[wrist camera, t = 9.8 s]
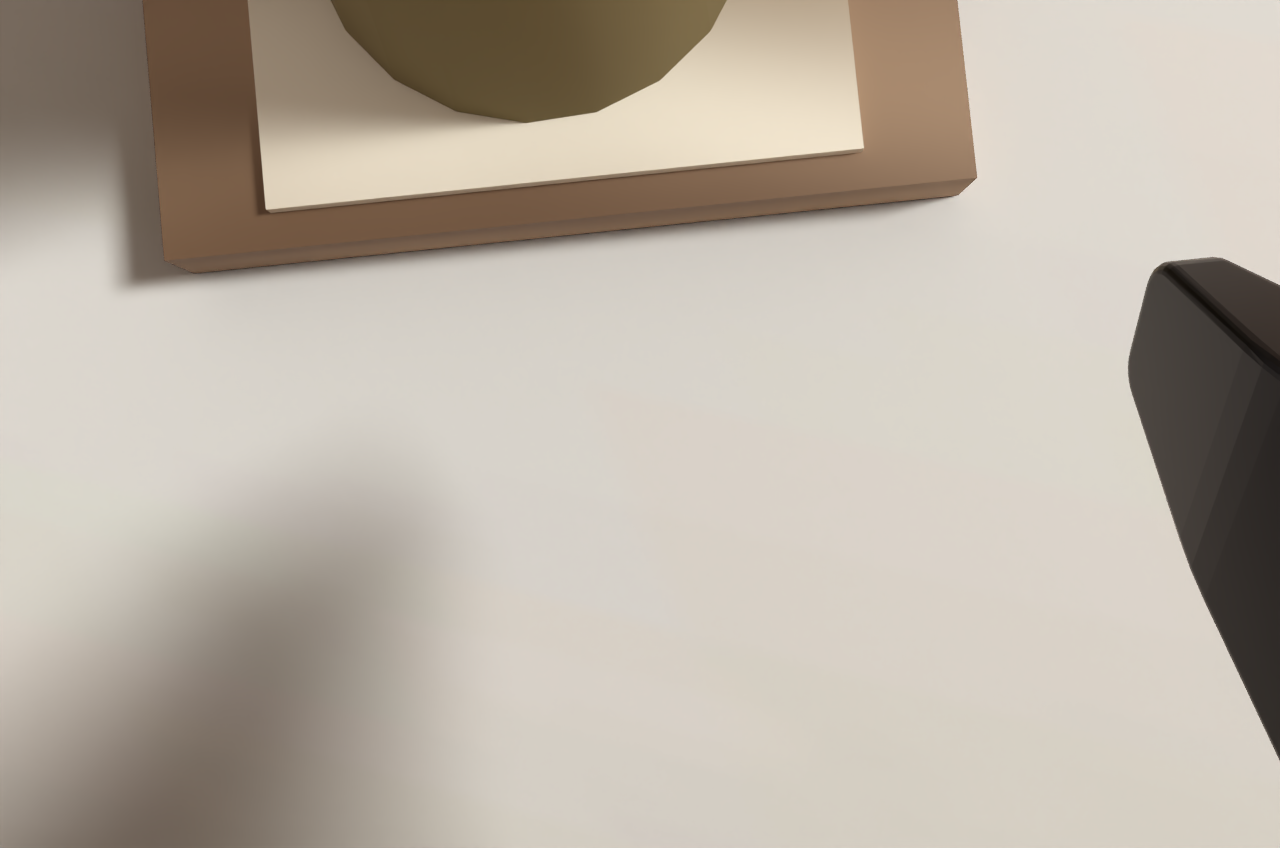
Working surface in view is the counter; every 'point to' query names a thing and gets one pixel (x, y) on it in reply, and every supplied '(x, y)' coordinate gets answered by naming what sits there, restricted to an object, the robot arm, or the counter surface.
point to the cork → (528, 49)
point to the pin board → (539, 133)
